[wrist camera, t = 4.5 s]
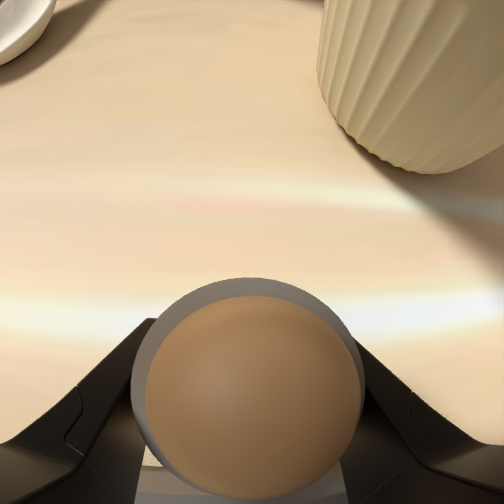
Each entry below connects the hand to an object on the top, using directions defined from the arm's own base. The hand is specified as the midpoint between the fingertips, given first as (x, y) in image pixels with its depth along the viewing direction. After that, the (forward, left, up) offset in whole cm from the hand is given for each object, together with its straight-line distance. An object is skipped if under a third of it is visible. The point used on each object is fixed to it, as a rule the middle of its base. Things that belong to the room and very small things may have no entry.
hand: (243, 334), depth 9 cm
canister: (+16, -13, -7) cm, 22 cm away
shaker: (-1, 0, -7) cm, 7 cm away
